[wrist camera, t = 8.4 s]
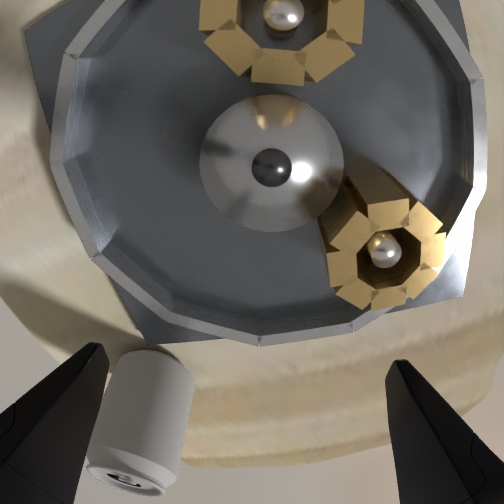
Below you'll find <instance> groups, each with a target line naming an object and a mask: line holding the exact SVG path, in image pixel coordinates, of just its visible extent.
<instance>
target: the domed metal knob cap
mask: <svg viewBox="0 0 504 504" xmlns="http://www.w3.org/2000/svg"><path fill="white" fill-rule="evenodd" d="M199 166H200V175H201V179H202V183H203V186H204V188H205V191H206V193H207V195H208V196H209V198H210V200H211V201H212V202H213V204H214V205H215V206H216V207H217V208H218V210H219V211H220V212H221V213H223V214H224V215H225V216H226V217H227V218H229V219H231V220H232V221H234V222H235V223H237V224H239V225H241V226H244V227H247V228H249V229H253V230H257V231H265V232H280V231H287V230H291V229H295V228H297V227H300V226H303V225H305V224H307V223H309V222H310V221H312V220H313V219H315V218H316V217H318V216H319V215H320V214H321V213H322V212H324V210H325V209H326V208H327V207H328V206H329V205H330V203H331V202H332V201H333V199H334V198H335V196H336V194H337V192H338V190H339V187H340V184H341V181H342V176H343V168H344V160H343V152H342V147H341V144H340V141H339V139H338V136H337V135H336V133H335V131H334V129H333V128H332V126H331V125H330V123H329V122H328V121H327V120H326V119H325V118H324V117H323V116H322V115H321V114H320V113H319V112H318V111H316V110H315V109H314V108H312V107H311V106H310V105H309V104H307V103H306V102H304V101H302V100H300V99H298V98H296V97H293V96H291V95H287V94H283V93H259V94H255V95H251V96H248V97H246V98H244V99H241V100H240V101H238V102H236V103H235V104H233V105H232V106H231V107H229V108H228V109H227V110H226V111H225V112H223V113H222V114H221V115H220V116H219V117H218V118H217V119H216V120H215V122H214V123H213V124H212V126H211V127H210V129H209V130H208V132H207V134H206V136H205V138H204V141H203V144H202V147H201V152H200V161H199Z"/></svg>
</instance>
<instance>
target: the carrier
mask: <svg viewBox="0 0 504 504" xmlns="http://www.w3.org/2000/svg"><path fill="white" fill-rule="evenodd" d="M200 4H201V0H72V1H70V2H68V3H67V4H65V5H63V6H62V7H60V8H58V9H57V10H55V11H54V12H52V13H51V14H49V15H47V16H46V17H44V18H43V19H41V20H40V21H38V22H37V23H36V24H34V25H33V26H31V27H30V28H28V29H27V30H26V31H25V37H26V42H27V47H28V52H29V56H30V61H31V65H32V69H33V73H34V77H35V81H36V85H37V89H38V93H39V96H40V100H41V104H42V107H43V110H44V114H45V117H46V120H47V124H48V127H49V130H50V133H51V145H50V160H49V163H51V165H50V168H51V170H52V173H53V176H54V178H55V181H56V184H57V186H58V189H59V191H60V194H61V196H62V198H63V201H64V203H65V206H66V208H67V210H68V213H69V215H70V217H71V220H72V222H73V224H74V226H75V228H76V231H77V233H78V235H79V237H80V239H81V241H82V244H83V246H84V248H85V250H86V252H87V254H88V256H89V258H92V259H91V260H92V261H93V262H94V263H95V264H96V265H97V266H98V267H100V268H101V269H102V270H103V271H104V272H105V273H107V274H108V275H109V276H110V277H111V279H112V281H113V283H114V285H115V287H116V289H117V290H118V292H119V294H120V296H121V298H122V300H123V302H124V303H125V305H126V307H127V309H128V311H129V313H130V314H131V316H132V318H133V320H134V321H135V323H136V325H137V327H138V328H139V330H140V332H141V334H142V335H143V337H144V339H145V340H146V342H147V344H148V345H153V344H168V343H181V342H193V341H204V340H214V339H224V338H227V339H230V340H234V341H238V342H242V343H246V344H251V345H255V346H258V345H260V346H267V345H275V344H283V343H290V342H297V341H304V340H311V339H317V338H323V337H329V336H335V335H341V334H347V333H352V332H353V330H354V331H357V330H358V329H360V328H362V327H363V326H365V325H367V324H368V323H370V322H371V321H373V320H375V319H376V318H378V317H379V316H381V315H383V314H386V313H391V312H396V311H400V310H405V309H410V308H414V307H419V306H423V305H427V304H432V303H436V302H440V301H444V300H448V299H452V298H456V297H460V296H463V292H464V287H465V281H466V276H467V270H468V264H469V258H470V251H471V244H472V236H473V227H474V217H475V210H476V208H477V206H478V204H479V202H480V200H481V199H482V196H483V194H484V192H485V190H484V189H486V178H487V117H486V100H485V89H484V79H480V78H482V77H483V76H482V74H481V72H480V71H479V69H478V67H477V65H476V64H475V62H474V60H473V58H472V57H471V55H470V51H469V45H468V39H467V34H466V29H465V24H464V20H463V15H462V11H461V7H460V3H459V0H365V1H364V19H363V33H362V45H358V46H354V47H351V50H352V51H353V52H354V53H355V56H353V57H352V58H350V59H349V60H348V61H346V62H345V63H343V64H342V65H341V66H339V67H338V68H336V69H335V70H334V71H332V72H331V73H329V74H328V75H327V76H325V77H324V78H323V79H321V80H320V81H319V82H317V83H314V82H308V81H305V80H304V86H296V85H286V84H274V83H261V82H251V72H252V71H251V72H250V73H249V74H248V75H246V76H238V75H237V74H236V73H235V72H234V71H233V70H232V69H231V68H230V67H229V66H228V65H227V64H226V63H225V62H224V61H223V60H222V59H221V58H220V57H219V56H218V55H217V54H216V53H215V52H213V51H212V50H211V49H210V48H209V47H208V46H207V45H206V44H205V43H204V42H203V41H205V40H206V39H207V38H208V37H209V36H207V35H206V34H204V33H202V32H201V31H199V18H200ZM314 23H315V16H314V15H313V14H312V13H311V11H310V10H309V9H308V8H307V7H306V6H305V5H304V4H303V3H302V2H301V1H300V0H259V1H257V2H256V3H255V4H253V5H252V6H251V7H249V8H248V9H247V10H246V11H245V25H244V32H245V33H246V34H247V35H248V36H250V37H251V38H252V39H253V40H254V41H255V42H256V43H257V45H258V46H259V47H260V48H267V49H280V50H291V51H300V50H301V49H303V48H304V47H305V46H307V45H308V44H309V43H311V42H312V41H313V37H314ZM259 93H283V94H287V95H291V96H293V97H296V98H298V99H300V100H302V101H304V102H306V103H307V104H309V105H310V106H311V107H312V108H314V109H315V110H316V111H318V112H319V113H320V114H321V115H322V116H323V117H324V118H325V119H326V120H327V121H328V122H329V123H330V125H331V126H332V128H333V129H334V131H335V133H336V135H337V136H338V139H339V141H340V144H341V147H342V152H343V160H344V168H343V176H342V181H341V182H342V183H344V184H345V185H346V186H348V187H349V180H348V176H352V175H359V174H366V173H373V172H380V171H382V172H384V173H385V174H386V175H387V176H389V175H390V174H392V175H393V176H394V177H395V178H396V179H397V180H399V181H400V182H401V183H402V184H403V185H404V186H406V187H407V188H408V189H409V190H410V191H411V192H412V193H414V194H415V195H416V196H417V197H418V198H419V199H420V200H421V201H422V202H423V204H424V205H425V206H426V207H427V208H428V209H429V210H430V211H431V212H432V213H433V214H434V215H435V216H436V217H437V218H438V219H439V220H440V221H441V222H442V223H443V225H442V226H441V227H442V228H443V230H444V231H445V232H446V238H445V249H444V259H443V266H440V267H435V269H436V271H437V272H438V275H437V276H436V277H435V278H434V279H433V280H432V281H431V283H430V284H429V285H428V286H427V287H426V288H425V289H424V290H423V291H422V292H421V293H420V294H419V295H418V296H417V297H416V298H415V299H414V300H413V299H412V298H410V297H409V296H408V295H406V302H405V304H403V305H399V306H394V307H389V308H384V309H379V310H374V311H371V309H370V306H369V304H368V305H367V306H366V307H365V308H364V309H363V310H362V309H360V308H358V307H357V306H355V305H353V304H351V303H350V302H348V301H346V300H344V299H343V298H341V297H339V296H337V295H336V294H335V292H334V287H330V283H329V279H328V275H327V271H326V267H325V263H324V258H323V254H322V250H321V246H320V239H319V232H318V225H317V219H316V218H315V219H313V220H312V221H310V222H309V223H307V224H305V225H303V226H300V227H297V228H295V229H291V230H287V231H280V232H265V231H257V230H253V229H249V228H247V227H244V226H241V225H239V224H237V223H235V222H234V221H232V220H231V219H229V218H227V217H226V216H225V215H224V214H223V213H221V212H220V211H219V210H218V208H217V207H216V206H215V205H214V204H213V202H212V201H211V200H210V198H209V196H208V195H207V193H206V191H205V188H204V186H203V183H202V179H201V175H200V166H199V161H200V152H201V147H202V144H203V141H204V138H205V136H206V134H207V132H208V130H209V129H210V127H211V126H212V124H213V123H214V122H215V120H216V119H217V118H218V117H219V116H220V115H221V114H222V113H223V112H225V111H226V110H227V109H228V108H229V107H231V106H232V105H233V104H235V103H236V102H238V101H240V100H241V99H244V98H246V97H248V96H251V95H255V94H259ZM319 216H321V215H319ZM395 230H396V228H395V229H389V230H383V231H377V232H375V233H374V234H373V235H372V236H371V238H370V239H369V240H368V241H367V242H366V243H365V244H364V246H363V247H362V248H361V249H360V250H362V249H367V250H368V252H369V254H370V256H371V258H372V261H373V263H374V264H375V265H376V266H377V267H380V268H388V267H391V266H393V265H394V264H396V263H397V262H398V260H399V259H400V257H401V247H400V245H399V244H398V242H397V241H396V239H395V237H394V236H393V234H392V233H393V232H394V231H395Z"/></svg>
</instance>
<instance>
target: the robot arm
mask: <svg viewBox="0 0 504 504" xmlns="http://www.w3.org/2000/svg"><path fill="white" fill-rule="evenodd" d="M108 370H109V359H108V357H107V355H106V352H105V350H104V347H103V345H102V344H100V343H94V342H90V343H88V344H86V345H85V346H84V347H83V348H81V349H80V350H79V351H78V352H76V353H75V354H74V355H73V356H71V357H70V358H69V359H67V360H66V361H65V362H64V363H62V364H61V365H60V366H59V367H58V368H56V369H55V370H54V371H53V372H51V373H50V374H49V375H48V376H46V377H45V378H44V379H43V380H41V381H40V382H39V383H38V384H36V385H35V386H34V387H33V388H31V389H30V390H29V391H28V392H27V393H26V394H24V395H23V396H22V397H21V398H20V399H18V400H17V401H16V402H15V403H13V404H12V405H11V406H9V407H8V408H7V409H6V410H5V411H3V412H2V413H1V414H0V504H73V503H74V499H75V495H76V490H77V486H78V482H79V478H80V475H81V471H82V467H83V464H84V460H85V456H86V453H87V449H88V446H89V443H90V439H91V436H92V433H93V429H94V426H95V423H96V420H97V416H98V413H99V410H100V406H101V402H102V397H103V393H104V388H105V383H106V379H107V374H108ZM385 386H386V398H387V411H388V424H389V431H390V437H391V443H392V449H393V455H394V462H395V468H396V475H397V483H398V490H399V499H400V504H504V463H503V461H502V460H500V459H499V458H498V457H497V456H496V455H495V454H494V453H493V452H492V451H491V450H490V449H489V448H488V447H487V446H486V445H485V443H484V442H483V441H482V440H481V439H480V438H479V437H478V436H477V435H476V434H475V433H473V430H472V429H471V428H470V427H469V426H468V425H467V424H466V423H465V421H464V420H463V419H462V418H461V417H460V416H459V415H458V414H457V413H456V412H455V410H454V409H453V408H452V407H451V406H450V405H449V404H448V403H447V402H446V401H445V400H444V398H443V397H442V396H441V395H440V394H439V393H438V392H437V391H436V390H435V389H434V388H433V387H432V386H431V384H430V383H429V382H428V381H427V380H426V379H425V378H424V377H423V376H422V375H421V374H420V373H419V372H418V371H417V370H416V369H415V368H414V366H413V365H412V364H411V363H410V362H409V361H408V360H405V359H402V360H395V361H394V362H393V363H392V365H391V367H390V369H389V371H388V373H387V375H386V379H385Z"/></svg>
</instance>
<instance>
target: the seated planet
mask: <svg viewBox="0 0 504 504" xmlns="http://www.w3.org/2000/svg"><path fill="white" fill-rule="evenodd" d="M348 180H349V187H348V186H346V185H345V184H344V183H342V182H341V184H340V187H339V190H338V192H337V194H336V196H335V198H334V199H333V201H332V202H331V203H330V205H329V206H328V207H327V208H326V209H325V210H324V212H322V213H321V214H320V215H321V216H318V217H316V219H317V225H318V232H319V239H320V246H321V250H322V254H323V258H324V263H325V267H326V271H327V275H328V279H329V283H330V287H334V292H335V294H336V295H337V296H339V297H341V298H343V299H344V300H346V301H348V302H350V303H351V304H353V305H355V306H357V307H358V308H360V309H362V310H363V309H364V308H365V307H366V306H367V305H368V304H369V306H370V309H371V311H374V310H379V309H384V308H389V307H394V306H399V305H403V304H405V302H406V295H408V296H409V297H410V298H412V299H413V300H414V299H415V298H416V297H417V296H418V295H419V294H420V293H421V292H422V291H423V290H424V289H425V288H426V287H427V286H428V285H429V284H430V283H431V281H432V280H433V279H434V278H435V277H436V276H437V275H438V272H437V271H436V269H435V267H440V266H443V259H444V249H445V238H446V232H445V231H444V230H443V228H442V227H441V226H442V225H443V223H442V222H441V221H440V220H439V219H438V218H437V217H436V216H435V215H434V214H433V213H432V212H431V211H430V210H429V209H428V208H427V207H426V206H425V205H424V204H423V202H422V201H421V200H420V199H419V198H418V197H417V196H416V195H415V194H414V193H412V192H411V191H410V190H409V189H408V188H407V187H406V186H404V185H403V184H402V183H401V182H400V181H399V180H397V179H396V178H395V177H394V176H393V175H392V174H390V175H389V176H387V175H386V174H385V173H384V172H382V171H380V172H373V173H366V174H359V175H352V176H348ZM395 228H396V230H395V231H394V232H393V233H392V234H393V236H394V237H395V239H396V241H397V242H398V244H399V245H400V247H401V257H400V259H399V260H398V262H397V263H396V264H394V265H393V266H391V267H388V268H380V267H377V266H376V265H375V264H374V263H373V261H372V258H371V256H370V254H369V252H368V250H367V249H362V250H360V249H361V248H362V247H363V246H364V244H365V243H366V242H367V241H368V240H369V239H370V238H371V236H372V235H373V234H374V233H375V232H377V231H383V230H389V229H395Z"/></svg>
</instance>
